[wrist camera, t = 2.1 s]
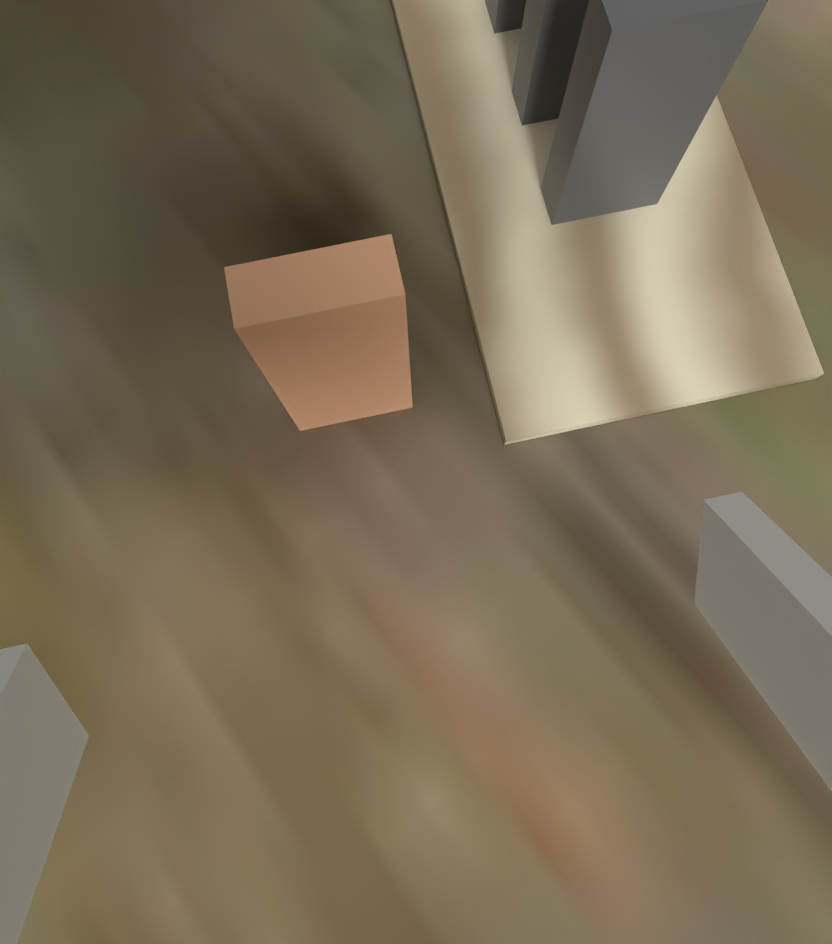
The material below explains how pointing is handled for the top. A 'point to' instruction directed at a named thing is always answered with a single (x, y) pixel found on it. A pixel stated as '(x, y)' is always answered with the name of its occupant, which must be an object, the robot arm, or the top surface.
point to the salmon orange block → (327, 329)
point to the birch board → (594, 254)
